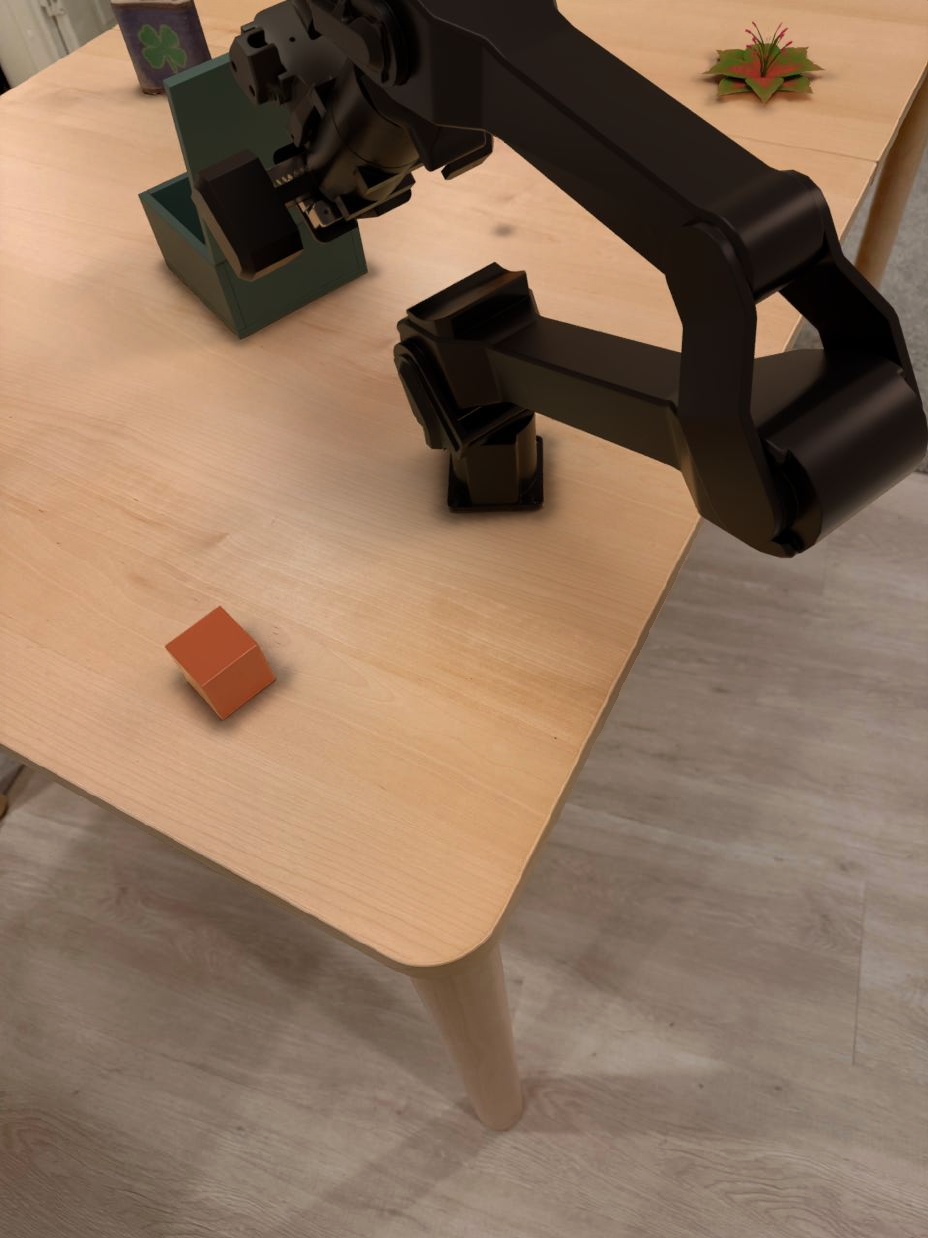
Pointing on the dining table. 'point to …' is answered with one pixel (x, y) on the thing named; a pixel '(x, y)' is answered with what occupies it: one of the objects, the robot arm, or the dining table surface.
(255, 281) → the tin
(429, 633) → the dining table surface
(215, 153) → the lid
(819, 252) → the robot arm
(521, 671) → the dining table surface
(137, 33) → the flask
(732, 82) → the lily flower
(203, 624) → the block
